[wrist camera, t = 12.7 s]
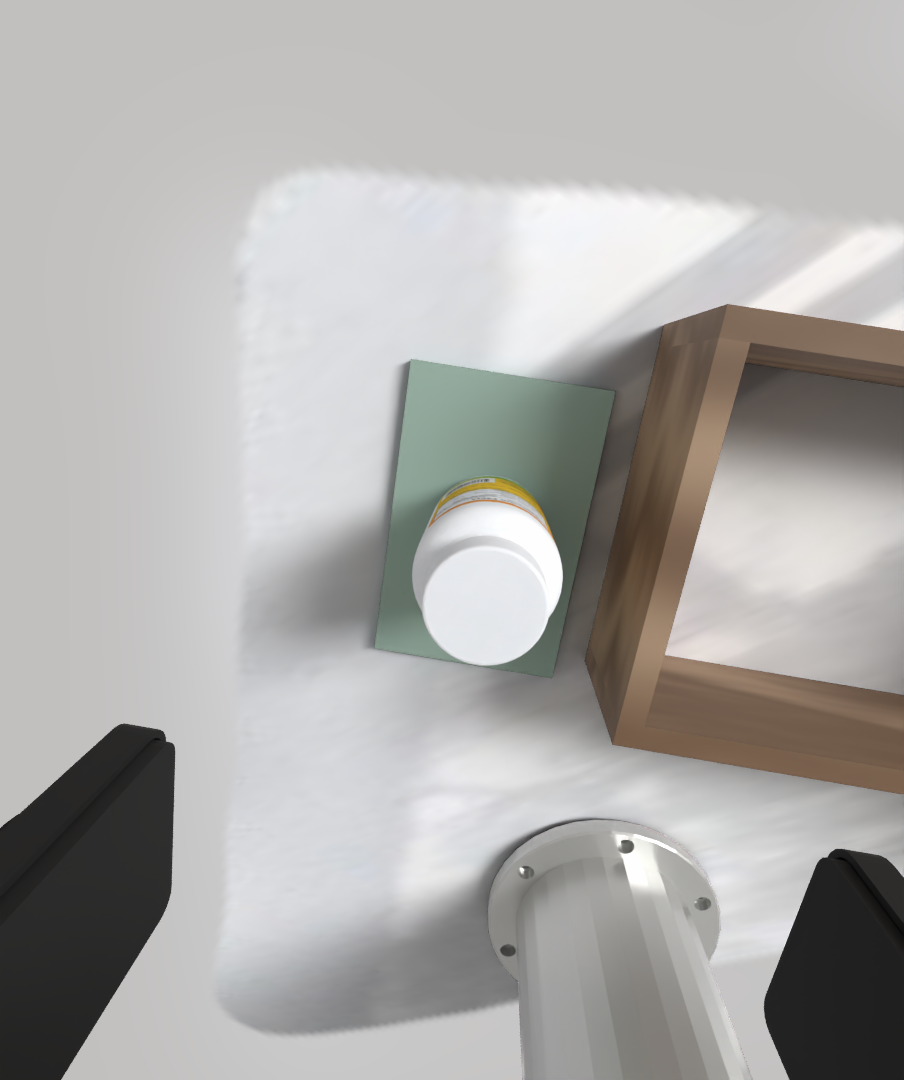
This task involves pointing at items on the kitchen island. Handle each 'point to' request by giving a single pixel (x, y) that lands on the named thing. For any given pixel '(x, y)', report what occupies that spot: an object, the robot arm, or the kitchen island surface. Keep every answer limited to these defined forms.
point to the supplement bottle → (487, 571)
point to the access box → (666, 549)
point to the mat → (495, 450)
